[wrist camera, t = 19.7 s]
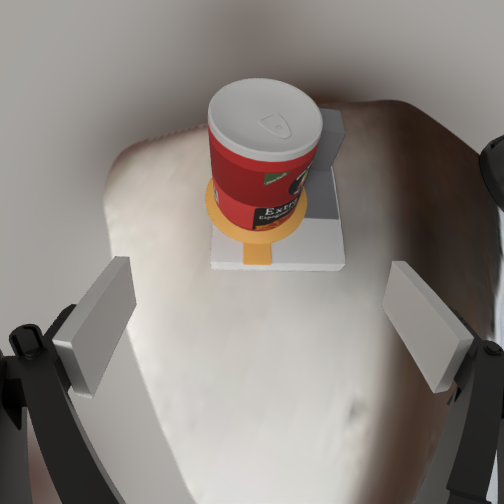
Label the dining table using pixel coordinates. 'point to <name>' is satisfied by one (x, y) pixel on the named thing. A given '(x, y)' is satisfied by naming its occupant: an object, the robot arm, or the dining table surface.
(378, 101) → the dining table surface
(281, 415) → the dining table surface
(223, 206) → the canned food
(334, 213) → the orange knob base plate
